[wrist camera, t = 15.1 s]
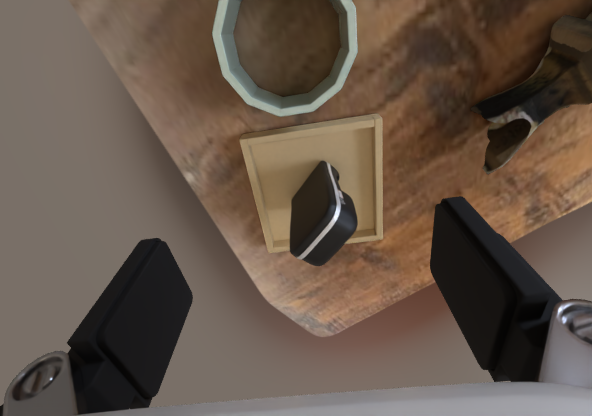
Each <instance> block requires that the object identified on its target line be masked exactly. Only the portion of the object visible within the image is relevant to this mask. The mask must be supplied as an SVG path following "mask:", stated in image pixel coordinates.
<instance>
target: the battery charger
mask: <svg viewBox="0 0 592 416" xmlns="http://www.w3.org/2000/svg"><path fill="white" fill-rule="evenodd" d="M339 178H340V177H339V173H338V171H337V170H336V169H335V168H334V167H333V166H331V165H330V163H328V162H325V161H320V163H319V164H318V165H317V166H316V168H315V169H314V170H313V172H312V173H311V174H310V175H309V177H308V178H307V179H306V181H305V182H304V183H303V185H302V186H301V187H300V189H299V190H298V191H297V193H296V194H295V195H294V197H293V198H292V200H291V221H290V252H291V253H292V254H293V255H294V256H295V257H296V258H298V259H302V260H304V261H306V262H308V263H309V264H311V265H314V266H321V265H323V264H325V263H326V262H328V261H329V260H330V258H331V257H332V256H333V255H334V254H335V253H336V252H337V251H338V250H339V249H340V248H341V247H342V246H343V245H344V244H345V243H346V242H347V241H348V240H349V238H350V237H351V236H352V235H353V234H354V232H355V231H356V229H357V225H358V220H357V214H356V210H355V206H354V203H353V200H352V198H351V197H350V196H349V195H348V194H347V193H345V192H343V191H342V190H341V188H340V185H339V183H338V181H339Z"/></svg>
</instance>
